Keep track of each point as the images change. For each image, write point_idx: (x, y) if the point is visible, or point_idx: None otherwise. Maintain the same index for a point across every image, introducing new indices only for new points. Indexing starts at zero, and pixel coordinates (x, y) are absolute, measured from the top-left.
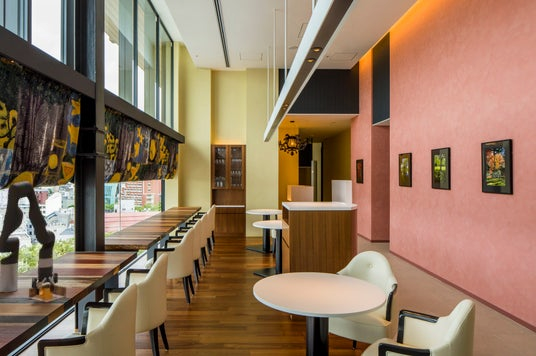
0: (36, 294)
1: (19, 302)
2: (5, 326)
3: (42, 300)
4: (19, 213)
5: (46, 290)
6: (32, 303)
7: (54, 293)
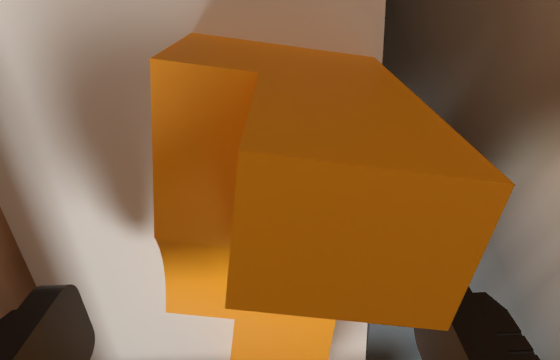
0: None
1: (554, 345)
2: None
3: None
4: None
5: (408, 140)
6: (546, 149)
7: None
